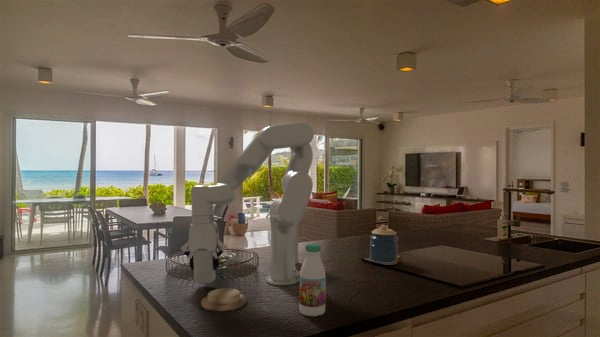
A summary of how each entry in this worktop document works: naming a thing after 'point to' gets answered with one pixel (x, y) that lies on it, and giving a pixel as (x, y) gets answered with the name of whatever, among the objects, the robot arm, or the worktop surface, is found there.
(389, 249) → the canister
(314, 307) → the milk bottle
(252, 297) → the worktop surface
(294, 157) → the robot arm
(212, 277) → the can
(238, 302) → the plinth
